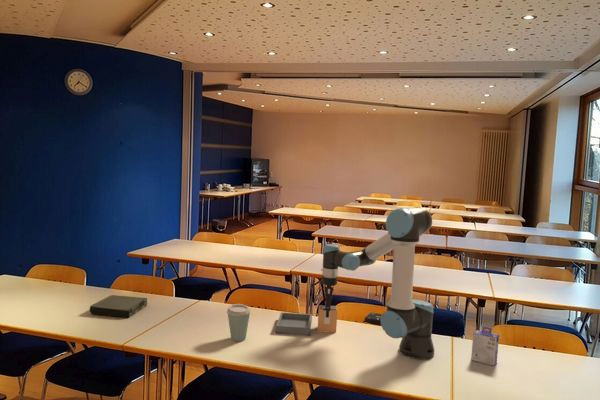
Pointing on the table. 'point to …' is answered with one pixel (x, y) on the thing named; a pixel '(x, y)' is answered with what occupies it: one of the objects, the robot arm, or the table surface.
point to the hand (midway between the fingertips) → (327, 318)
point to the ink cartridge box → (485, 346)
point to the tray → (294, 323)
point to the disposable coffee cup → (238, 321)
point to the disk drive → (373, 318)
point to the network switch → (118, 306)
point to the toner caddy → (333, 319)
